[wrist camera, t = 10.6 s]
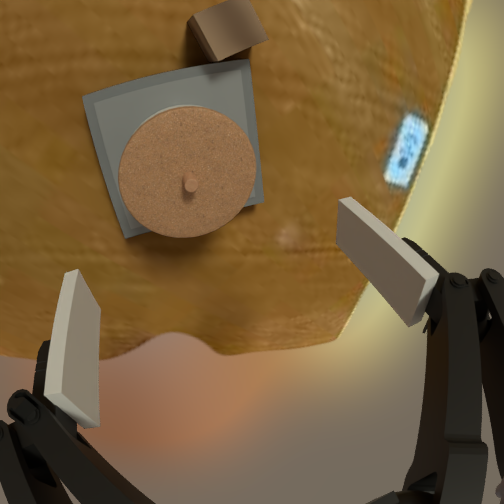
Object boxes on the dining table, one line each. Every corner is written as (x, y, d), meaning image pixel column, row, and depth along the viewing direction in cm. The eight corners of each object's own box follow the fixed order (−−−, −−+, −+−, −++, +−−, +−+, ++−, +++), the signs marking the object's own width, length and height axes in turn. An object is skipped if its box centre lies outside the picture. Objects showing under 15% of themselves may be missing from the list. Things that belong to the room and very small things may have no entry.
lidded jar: (198, 215, 33) (216, 266, 26) (107, 175, 27) (93, 220, 20) (252, 130, 30) (291, 157, 22) (160, 77, 24) (163, 82, 17)
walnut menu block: (208, 61, 27) (218, 61, 23) (186, 22, 23) (193, 14, 20) (251, 42, 26) (268, 39, 23) (231, 3, 23) (246, -7, 19)
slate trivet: (126, 227, 34) (125, 239, 32) (87, 94, 24) (81, 96, 22) (257, 193, 37) (264, 202, 35) (242, 59, 27) (249, 58, 25)
